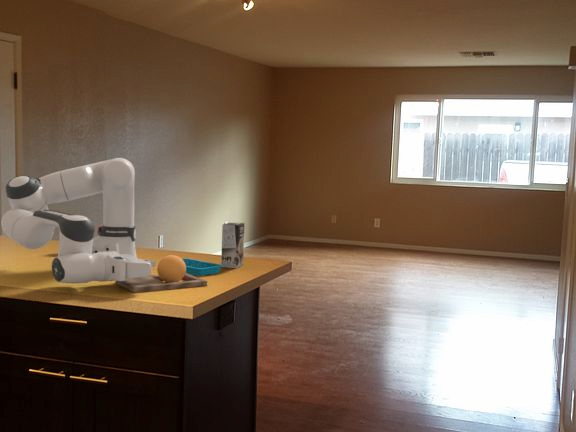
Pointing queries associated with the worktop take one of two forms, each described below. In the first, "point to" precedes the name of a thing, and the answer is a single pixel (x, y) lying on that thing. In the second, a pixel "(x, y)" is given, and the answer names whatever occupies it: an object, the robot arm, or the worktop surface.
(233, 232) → the coffee box
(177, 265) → the ball
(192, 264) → the ice cube tray
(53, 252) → the worktop surface
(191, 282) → the walnut board
